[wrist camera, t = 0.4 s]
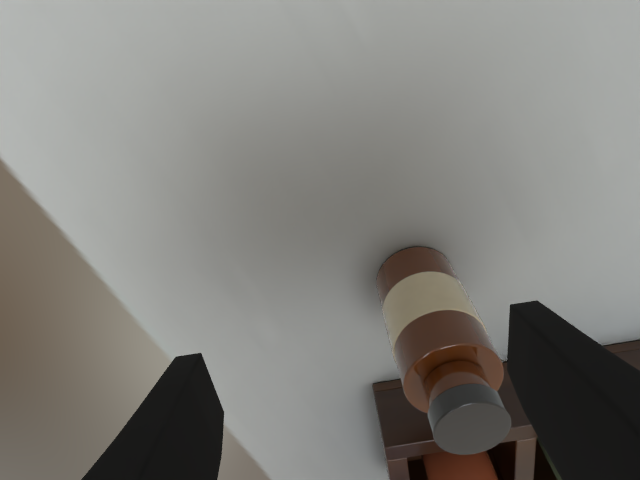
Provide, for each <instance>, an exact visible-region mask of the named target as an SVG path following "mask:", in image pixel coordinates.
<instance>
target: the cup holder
mask: <svg viewBox="0 0 640 480" xmlns="http://www.w3.org/2000/svg"><path fill="white" fill-rule="evenodd" d="M603 347H604V348H606V349H607V350H609V351H610V352H612V353H613V354H615V355H616V356H618V357H619V358H621V359H622V360H624V361H626V362H627V363H629V364H630V365H632V366H633V367H635V368H637V369H638V370H640V340H639V341H633V342H627V343H621V344H615V345H609V346H603ZM503 367H504V378H503V382H502V385H501V387H500V389H499V390H498V393H499V395H500V396H501V398H502V400H503V402H504V404H505V406H506V408H507V410H508V412H509V414H510V417H511V428H510V431H509V433H508V435H507V436H506V437H505V439H504V440H503V441H501V442H500V443H499V444H498V445H496V446H495V447H493V448H491V449H489V450H487V452H488V454H489V457H490V459H491V462H492V464H493V467H494V469H495V472H496V474H497V477H498V479H499V480H556V478H555V476H554V474H553V472H552V470H551V468H550V466H549V464H548V462H547V460H546V458H545V456H544V455H543V453H542V451H541V449H540V447H539V445H538V443H537V441H536V439H537V438H536V437H538V436H537V434H536V432H535V430H534V429H533V427H532V425H531V423H530V421H529V420H528V418H527V416H526V414H525V412H524V410H523V408H522V406H521V403H520V401H519V398H518V396H517V394H516V391H515V389H514V386H513V384H512V381H511V379H510V376H509V374H508V371H507V362H504V363H503ZM372 386H373V391H374V397H375V403H376V409H377V414H378V420H379V426H380V432H381V437H382V443H383V449H384V454H385V460H386V466H387V471H388V477H389V480H427V477H426V473H425V470H424V466H423V462H422V458H421V455H425V454H432V453H438V452H445V450H443V449H441V448H440V447H439V446H438V445H437V444H436V442H435V441H434V438H433V435H432V431H431V428H430V425H429V421H428V414H427V413H424V412H422V411H420V410H418V409H416V408H415V407H414V406H413V405H412V404H411V403H410V402H409V401H408V400H407V398H406V396H405V394H404V391H403V387H402V383H401V379H400V380H394V381H388V382H381V383H375V384H373V385H372Z"/></svg>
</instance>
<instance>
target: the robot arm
mask: <svg viewBox="0 0 640 480" xmlns="http://www.w3.org/2000/svg"><path fill="white" fill-rule="evenodd" d="M507 371H508V374H509V376H510V379H511V381H512V384H513V386H514V389H515V391H516V394H517V396H518V398H519V401H520V403H521V406H522V408H523V410H524V412H525V414H526V416H527V418H528V420H529V421H530V423H531V425H532V427H533V429H534V430H535V432H536V434H537V436H538V438H539V440H540V441H541V443H542V445H543V447H544V448H545V450H546V452H547V454H548V456H549V457H550V459H551V461H552V463H553V464H554V466H555V468H556V470H557V472H558V473H559V475H560V477H561V479H562V480H640V370H638V369H637V368H635V367H633V366H632V365H630V364H629V363H627V362H626V361H624V360H622V359H621V358H619V357H618V356H616V355H615V354H613V353H612V352H610V351H609V350H607V349H606V348H604V347H603V346H601V345H600V344H598V343H597V342H596V341H594V340H593V339H591V338H590V337H588V336H587V335H585V334H584V333H583V332H581V331H580V330H578V329H577V328H575V327H574V326H573V325H571V324H570V323H568V322H567V321H566V320H564V319H563V318H561V317H560V316H558V315H557V314H556V313H554V312H553V311H551V310H550V309H549V308H547V307H546V306H544V305H543V304H541V303H540V302H538V301H531V302H525V303H518V304H512V305H510V317H509V338H508V359H507ZM223 423H224V411H223V408H222V406H221V403H220V401H219V398H218V395H217V393H216V390H215V388H214V385H213V383H212V380H211V377H210V375H209V372H208V370H207V367H206V364H205V362H204V359H203V357H202V354H201V353H197V354H191V355H184V356H178V357H175V359H174V360H173V361H172V363H171V364H170V365H169V367H168V368H167V369H166V371H165V372H164V374H163V375H162V376H161V378H160V379H159V380H158V382H157V383H156V385H155V386H154V387H153V389H152V390H151V391H150V393H149V394H148V396H147V397H146V398H145V400H144V401H143V402H142V404H141V405H140V407H139V408H138V409H137V411H136V412H135V413H134V414H133V416H132V417H131V418H130V420H129V421H128V422H127V424H126V425H125V426H124V428H123V429H122V431H121V432H120V433H119V434H118V436H117V437H116V438H115V439H114V441H113V442H112V443H111V444H110V446H109V447H108V448H107V449H106V451H105V452H104V453H103V454H102V455H101V457H100V458H99V459H98V460H97V462H96V463H95V464H94V465H93V467H92V468H91V469H90V470H89V471H88V473H87V474H86V475H85V476H84V477H83V478H82V480H217V477H218V472H219V466H220V460H221V454H222V453H221V452H222V439H223Z"/></svg>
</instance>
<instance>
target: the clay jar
mask: <svg viewBox="0 0 640 480" xmlns="http://www.w3.org/2000/svg"><path fill="white" fill-rule="evenodd" d="M421 458H422V462H423V466H424V470H425V473H426V477H427V480H499V479H498V477H497V474H496V472H495V469H494V467H493V464H492V462H491V459H490V457H489V454H488V452H487V451H484V452H481V453H477V454H471V455H458V454H452V453H449V452H446V451H445V452H438V453H432V454H425V455H421Z"/></svg>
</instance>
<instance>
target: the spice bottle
mask: <svg viewBox="0 0 640 480" xmlns="http://www.w3.org/2000/svg"><path fill="white" fill-rule="evenodd" d="M376 283H377V290H378V294H379V298H380V302H381V306H382V309H383V318H384V322H385V326H386V330H387V334H388V338H389V341H390V345H391V349H392V353H393V357H394V360H395V362H396V364H397V368H398V371H399V375H400V379H401V383H402V387H403V391H404V394H405V396H406V398H407V400H408V401H409V402H410V403H411V404H412V405H413V406H414V407H415V408H416V409H418V410H420V411H422V412H424V413H427V414H428V421H429V425H430V428H431V431H432V435H433V438H434V441H435V442H436V444H437V445H438V446H439V447H440V448H441V449H443V450H445V451H446V452H449V453H452V454H458V455H471V454H477V453H481V452H484V451H487V450H489V449H491V448H493V447H495V446H496V445H498V444H499V443H500V442H501V441H503V440H504V439H505V437H506V436H507V435H508V433H509V431H510V428H511V417H510V414H509V412H508V410H507V408H506V406H505V404H504V402H503V400H502V398H501V396H500V395H499V393H498V390H499V389H500V387H501V385H502V382H503V378H504V367H503V363H502V361H501V359H500V357H499V355H498V353H497V351H496V349H495V348H494V346H493V344H492V342H491V340H490V338H489V336H488V334H487V331H486V328H485V326H484V324H483V322H482V320H481V318H480V316H479V315H478V313H477V311H476V309H475V307H474V305H473V303H472V301H471V300H470V298H469V296H468V294H467V292H466V290H465V288H464V287H463V285H462V284H461V283H460V282H459V280H458V278H457V276H456V274H455V272H454V270H453V268H452V266H451V265H450V263H449V261H448V260H447V258H446V257H445V256H444V255H442V254H441V253H440V252H438V251H436V250H433V249H431V248H426V247H411V248H407V249H404V250H401V251H399V252H397V253H395V254H394V255H392V256H391V257H390V258H388V259H387V260H386V261H385V262H384V264H383V265H382V267H381V268H380V270H379V273H378V276H377V282H376Z"/></svg>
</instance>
